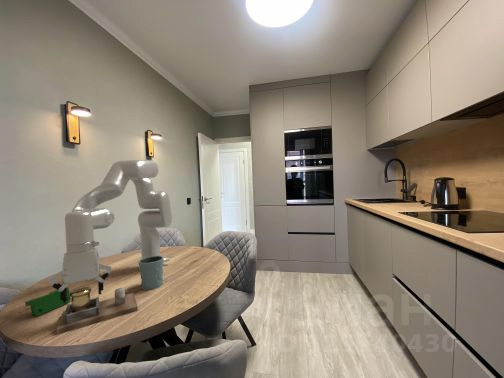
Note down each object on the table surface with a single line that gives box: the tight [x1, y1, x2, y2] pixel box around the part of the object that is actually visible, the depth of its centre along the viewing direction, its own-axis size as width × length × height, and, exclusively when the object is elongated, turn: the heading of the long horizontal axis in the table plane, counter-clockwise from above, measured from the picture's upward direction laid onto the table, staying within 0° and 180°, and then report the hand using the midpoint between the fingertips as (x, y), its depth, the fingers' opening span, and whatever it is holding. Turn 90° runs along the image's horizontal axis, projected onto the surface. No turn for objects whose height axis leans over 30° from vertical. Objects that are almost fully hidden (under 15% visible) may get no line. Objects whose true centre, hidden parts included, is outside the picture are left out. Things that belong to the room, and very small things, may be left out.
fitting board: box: [56, 287, 139, 335], centre depth 80 cm, size 22×13×6 cm, turn 123°
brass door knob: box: [69, 286, 92, 313], centre depth 77 cm, size 6×6×8 cm
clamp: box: [24, 286, 72, 317], centre depth 84 cm, size 12×6×9 cm, turn 153°
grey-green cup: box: [138, 255, 164, 291], centre depth 101 cm, size 10×10×12 cm
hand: (83, 297), depth 77 cm, fingers open, 9 cm apart
